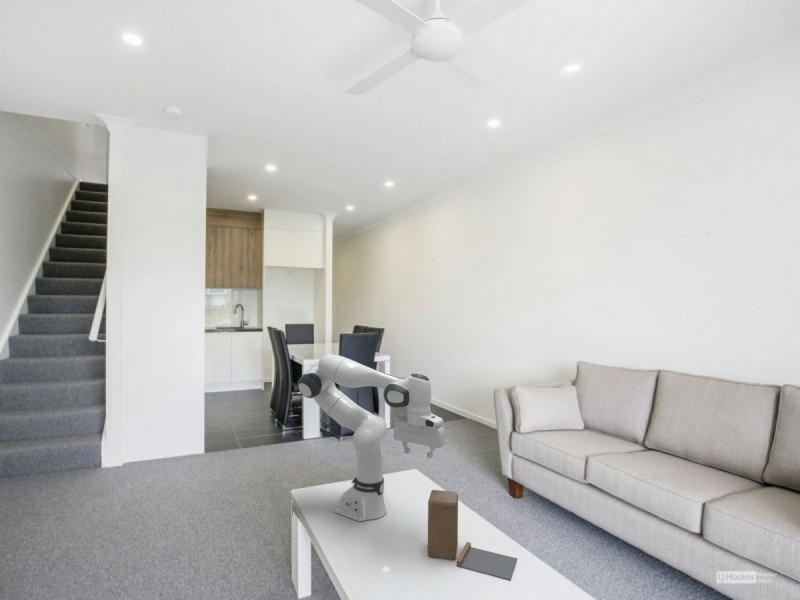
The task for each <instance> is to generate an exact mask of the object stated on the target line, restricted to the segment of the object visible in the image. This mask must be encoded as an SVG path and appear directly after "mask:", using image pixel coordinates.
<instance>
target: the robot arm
mask: <svg viewBox="0 0 800 600" xmlns="http://www.w3.org/2000/svg"><path fill="white" fill-rule="evenodd" d="M336 384H337V385H339V386H342V387H345V388H351V389H356V388H363V387H376V388H378V389H379V388H380V389H382V390H383V399H384V402H385V403H386V405H388V406H389V407H390V408H398V409H399V408H404V407H406V409H407V411H406V412H407V413H406V414H407V415H397V416H395V417H394V428H393V436H392V437H393V438H394V440H395V441H400V442H401V445H402V447H403V449H404V451H403V452H404V454H408V455H409V454H410V453H411V448H410V447H408V446H409V445H408V443H411V444H417V445H421V446H425V447H426V446H428V447H429V450H430V451H428V452H427V453H426V455H427V456H426V458H427V459H432V458H433V457H434V456H433V455H434V452H435V451H436V448H438V449H441V448H442V447H444V445H446V434H445V433H446V431H445V427H444V426H443V424H444V419H443V418H442V417H439V416H438V415H436V414H434V413H432V409H431V401H432V388H431V387H432V385H431V380H430V378H429V377H428V376H426V375H424V374H421V373H411V374H410V375H408V376H407V377H406V376H405V377H399V376H394V375H392V374H388V373H386V372H382V371H380V370H376V369H374V368H372V367H369V366H367V365H364V364H362V363H359V362H357V361H355V360H353V359H350V358H348V357H345V356H342V355H337V354H332V353H326V354H324V355H323V356H322V357H321V358H320V360H318V361H317V362H315V363H314V364H313V365H311V367H309V368H308V370H306V372H305V373H304V374H302V375H301V377H299V379H298V380H297V384H296V385H297V389H298V391H299V393H300V395H302V396H304V397H305V398H307V399H313V400H314V402H315V403H316V404H317V405H318V406H319V407H320V408H321V409H322V411H323V412H324V413H326V414H327V415H328V416H329V417H330V418H331V419H333V420H334V421H335V422H336V423H337V424H338V425H339V426H341V427H343V428H346V429H349V430H351V431H353V432H354V433H353V436H352V444H353V447H354V448H355V449H354V450H355V454H356V461H357V462H356V463H357V467H356V469H357V471H356V476H355V477H354V478H353V479H352V480H351V484H353V485H352V486H351V487H349V488H348V489H347V490H345V491H344V492H343V493H341V494H342V495H341V496H340V500H339V502H338V503H337V504H336V505H334V508H333V511H334V513H336V514H339V515H341V516H344V517H346V518H349V519H351V520H354V521H356V522H365V521H367V520H368V521H370V520H377V519H380V518H382V517H384V516H385V515H386V514H387V508H386V504H385V499H384V498H385V497H384V491H385V490H384V489H385V478H384V458H383V456H382V451H381V444H382V443H381V442H382V440H383V439H384V438H385V436H386V434H387V429H388V428H387V422H386V421H385V419H384V418H383V417H381V416H378V415H375V414H373V413H372V412H370V411H369V410H366V409H365V408H363V407H361V406H360V405H359V404H357V403H356V402H354V401H353V400H352V399H351V398H350V397H348V396H347V395H346V394H344V392H342V391H341V390H340V389H338V387H337V386H336Z"/></svg>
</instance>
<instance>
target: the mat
mask: <svg viewBox="0 0 800 600" xmlns="http://www.w3.org/2000/svg"><path fill="white" fill-rule="evenodd" d="M455 560H456V564H455V566H456V567H457V568H460V569H465V570H469V571H471V572H476V573H480V574H484V575H487V576H491V577H496V578H499V579H503V580H506V581H511V580H512V578H513V577H512V576H513V574H514V571H515V567H516V564H517V560H518V558H517V557H514V556H513V557H512V556H510V555H506V554H501V553H498V552H493V551H489V550H485V549H481V548H477V547H472V543H471V542H470V541H466V542H465V544H464V546H463V548H462V549H461V551H460V553H459V555H458V557H457V558H456V559H455Z"/></svg>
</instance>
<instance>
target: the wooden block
mask: <svg viewBox="0 0 800 600" xmlns="http://www.w3.org/2000/svg"><path fill="white" fill-rule="evenodd" d="M458 539H459V494H458V492H457V491H451V490H450V491H448V490H440V489H432V490H431V491H430V494H429V498H428V501H427V555H428V557H429V558H438V559H444V560H445V559H446V560H456V559H457V552H458V546H459V545H458V543H459V542H458V541H459V540H458Z"/></svg>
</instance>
